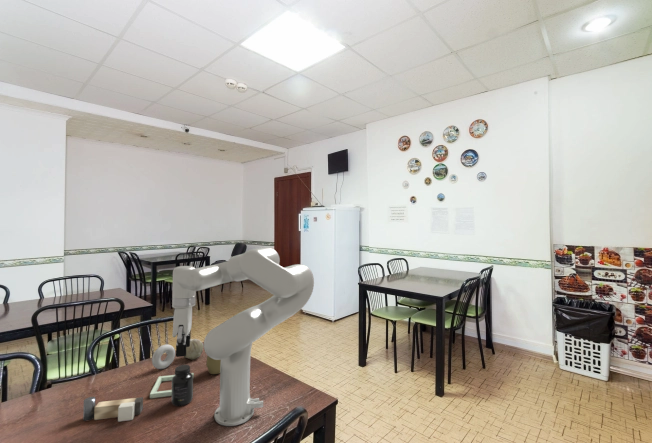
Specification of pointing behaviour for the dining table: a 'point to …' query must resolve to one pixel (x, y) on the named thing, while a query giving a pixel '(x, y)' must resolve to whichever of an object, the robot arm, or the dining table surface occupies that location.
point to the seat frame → (161, 378)
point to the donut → (159, 352)
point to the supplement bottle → (182, 386)
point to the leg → (115, 408)
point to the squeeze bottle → (213, 365)
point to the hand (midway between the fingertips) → (183, 351)
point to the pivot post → (89, 408)
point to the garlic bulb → (194, 349)
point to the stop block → (126, 411)
